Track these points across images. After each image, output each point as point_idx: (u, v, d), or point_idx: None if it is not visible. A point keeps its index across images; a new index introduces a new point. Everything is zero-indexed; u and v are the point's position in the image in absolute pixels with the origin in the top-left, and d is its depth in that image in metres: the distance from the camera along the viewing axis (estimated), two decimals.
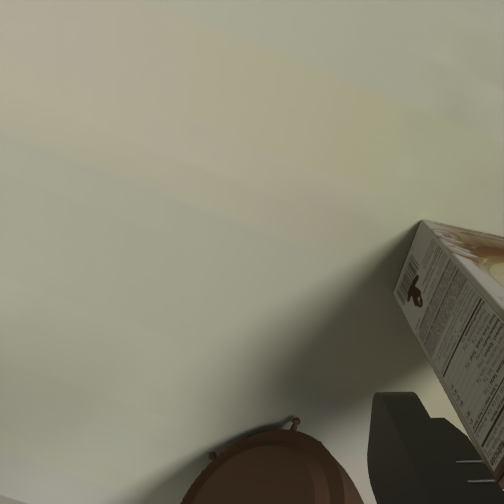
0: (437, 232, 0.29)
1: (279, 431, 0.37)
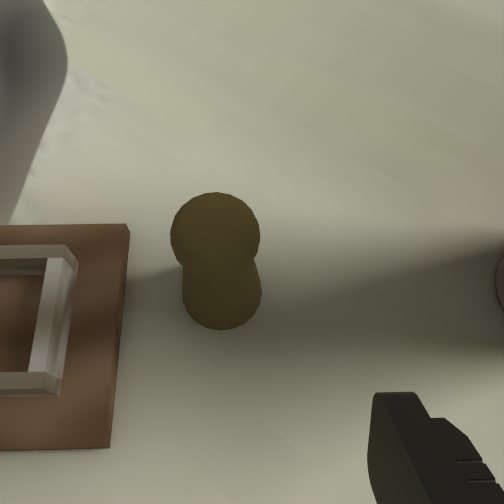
0: None
1: None
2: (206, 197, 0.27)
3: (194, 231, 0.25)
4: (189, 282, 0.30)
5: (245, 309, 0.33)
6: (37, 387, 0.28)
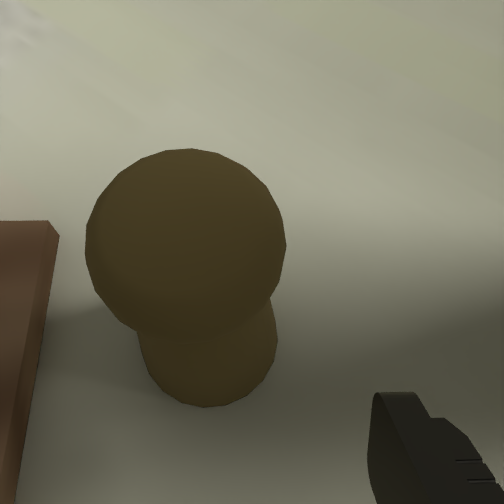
0: None
1: None
2: (166, 158, 0.12)
3: (132, 236, 0.11)
4: (141, 334, 0.15)
5: (251, 376, 0.18)
6: None
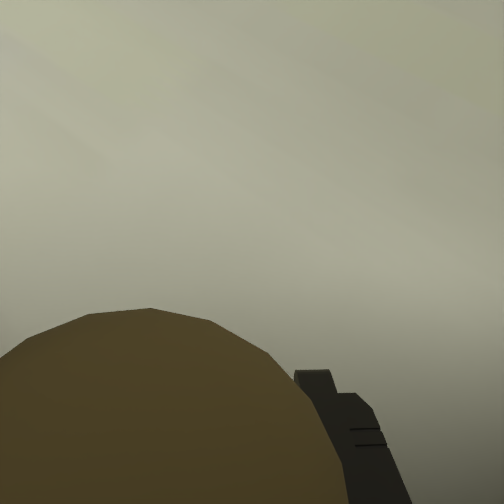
0: None
1: None
2: (74, 357, 0.05)
3: None
4: None
5: None
6: None
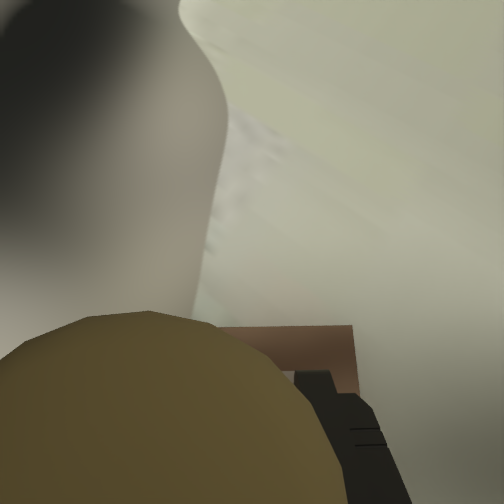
0: None
1: None
2: (72, 360, 0.05)
3: None
4: None
5: None
6: None
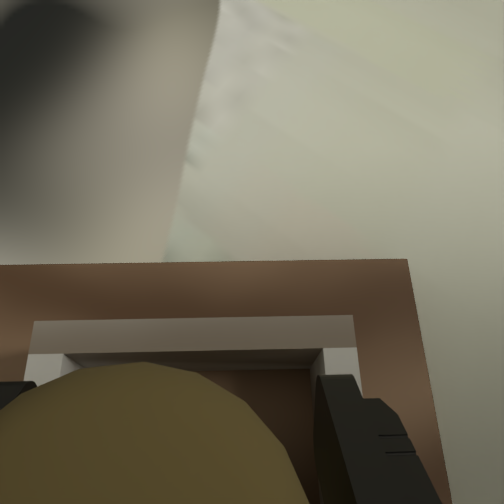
0: None
1: None
2: (62, 418, 0.05)
3: None
4: None
5: None
6: None
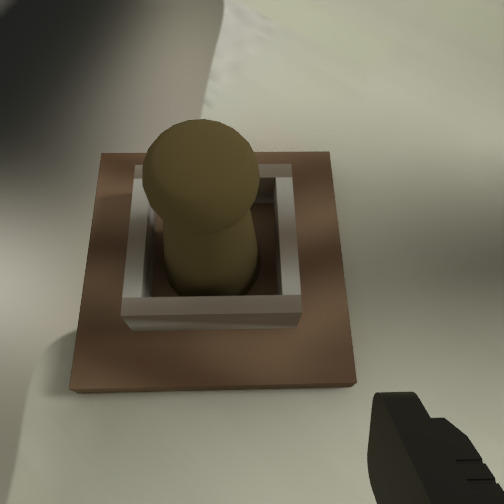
0: None
1: None
2: (189, 124, 0.20)
3: (172, 165, 0.19)
4: (169, 243, 0.24)
5: (241, 281, 0.27)
6: (297, 311, 0.25)
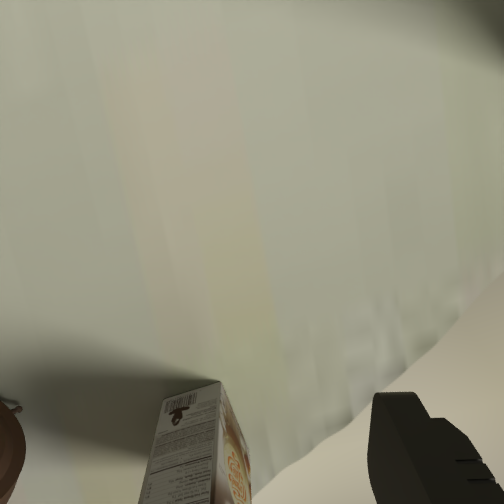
0: (221, 397, 0.42)
1: (3, 405, 0.42)
2: None
3: None
4: None
5: None
6: None
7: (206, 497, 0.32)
